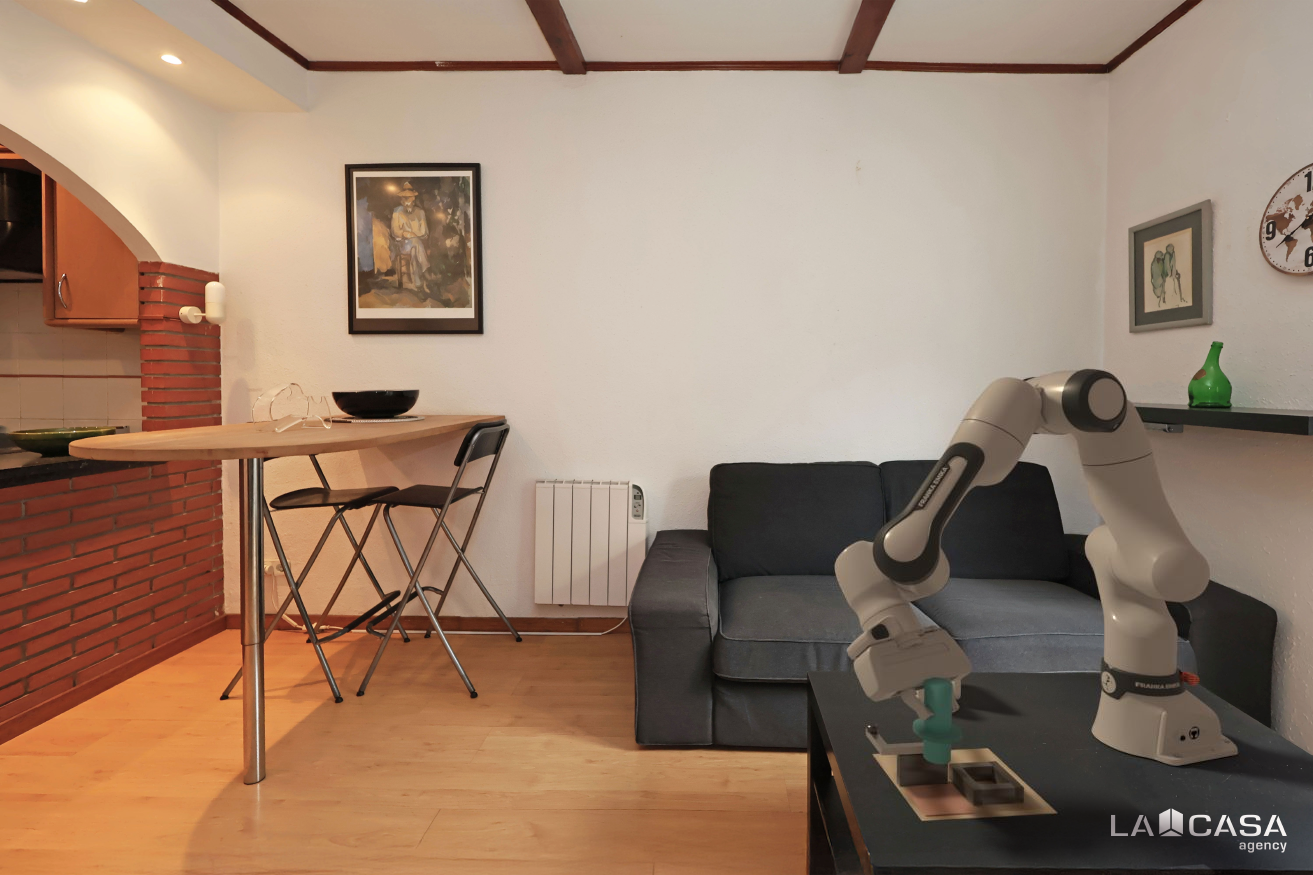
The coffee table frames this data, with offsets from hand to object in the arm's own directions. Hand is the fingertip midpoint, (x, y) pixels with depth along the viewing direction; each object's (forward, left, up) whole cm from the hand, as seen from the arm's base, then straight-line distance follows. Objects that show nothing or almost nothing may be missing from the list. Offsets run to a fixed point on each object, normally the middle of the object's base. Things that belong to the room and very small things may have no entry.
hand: (941, 714), depth 112 cm
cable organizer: (-16, -41, -15) cm, 47 cm away
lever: (+3, -8, -9) cm, 12 cm away
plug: (0, -1, -7) cm, 7 cm away
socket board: (-6, -5, -15) cm, 17 cm away
